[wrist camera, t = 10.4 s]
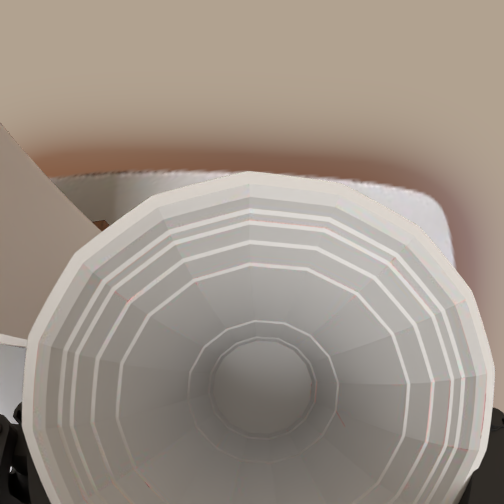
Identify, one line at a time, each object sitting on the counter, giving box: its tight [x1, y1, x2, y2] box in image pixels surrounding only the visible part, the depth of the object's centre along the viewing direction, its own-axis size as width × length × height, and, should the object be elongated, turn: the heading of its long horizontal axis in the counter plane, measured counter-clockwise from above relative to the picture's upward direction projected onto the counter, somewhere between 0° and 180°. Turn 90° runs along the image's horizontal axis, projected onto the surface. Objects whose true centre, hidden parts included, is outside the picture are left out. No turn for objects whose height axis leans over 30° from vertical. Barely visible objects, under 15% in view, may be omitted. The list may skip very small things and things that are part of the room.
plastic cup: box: [22, 171, 495, 504], centre depth 10 cm, size 11×11×12 cm
